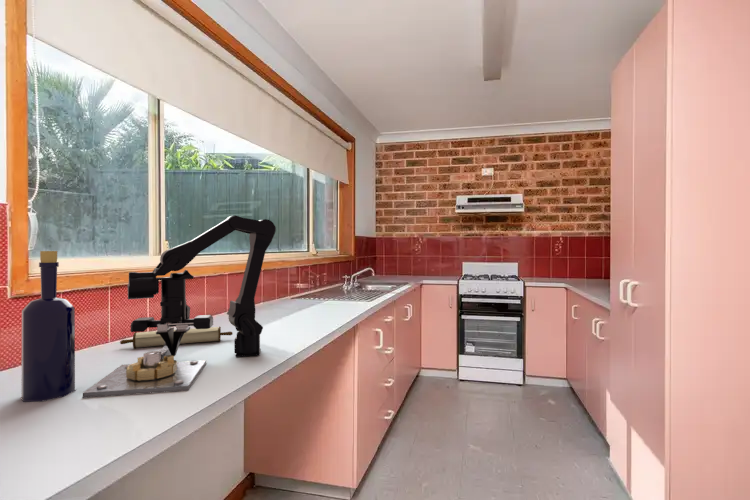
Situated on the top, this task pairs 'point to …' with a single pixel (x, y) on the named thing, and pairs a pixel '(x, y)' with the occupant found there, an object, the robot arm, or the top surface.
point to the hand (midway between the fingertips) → (173, 355)
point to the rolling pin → (189, 337)
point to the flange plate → (122, 385)
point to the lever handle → (162, 370)
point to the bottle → (48, 340)
